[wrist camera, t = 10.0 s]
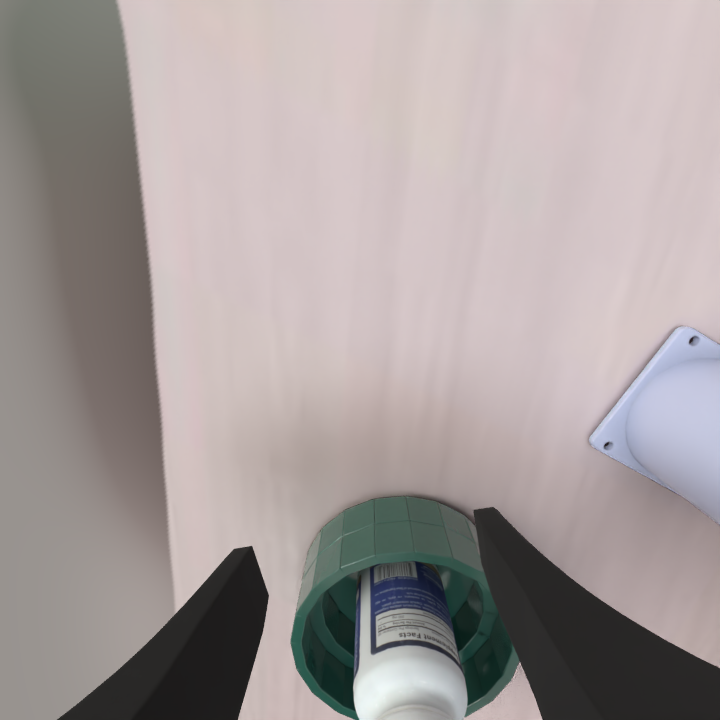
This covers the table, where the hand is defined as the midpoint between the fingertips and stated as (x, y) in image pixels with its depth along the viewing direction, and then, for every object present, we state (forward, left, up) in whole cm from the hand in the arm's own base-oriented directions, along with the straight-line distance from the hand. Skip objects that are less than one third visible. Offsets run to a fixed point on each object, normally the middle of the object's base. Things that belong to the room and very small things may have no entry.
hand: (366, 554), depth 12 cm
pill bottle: (-7, +8, -10) cm, 15 cm away
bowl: (-7, +8, -10) cm, 15 cm away
